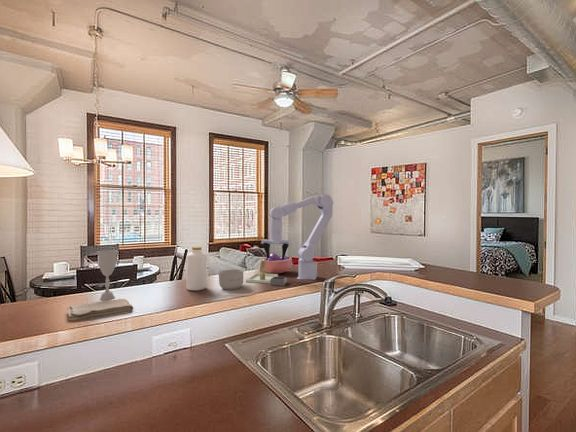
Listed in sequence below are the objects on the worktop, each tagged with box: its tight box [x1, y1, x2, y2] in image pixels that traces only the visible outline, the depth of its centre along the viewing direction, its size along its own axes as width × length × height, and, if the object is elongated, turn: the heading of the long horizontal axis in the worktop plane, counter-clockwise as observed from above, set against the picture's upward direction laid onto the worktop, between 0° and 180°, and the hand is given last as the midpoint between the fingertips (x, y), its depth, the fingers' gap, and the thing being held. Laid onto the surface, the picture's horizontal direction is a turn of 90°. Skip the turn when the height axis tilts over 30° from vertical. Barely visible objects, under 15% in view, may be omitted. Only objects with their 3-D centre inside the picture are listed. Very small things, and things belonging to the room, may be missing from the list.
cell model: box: [259, 252, 293, 275], centre depth 170 cm, size 17×20×11 cm
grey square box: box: [269, 276, 288, 287], centre depth 142 cm, size 6×6×3 cm
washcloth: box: [66, 298, 134, 322], centre depth 103 cm, size 12×18×3 cm, turn 128°
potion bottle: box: [186, 246, 208, 292], centre depth 134 cm, size 8×8×18 cm
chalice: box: [96, 249, 119, 301], centre depth 119 cm, size 7×7×18 cm
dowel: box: [259, 260, 266, 280], centre depth 152 cm, size 3×3×9 cm
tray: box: [244, 272, 279, 284], centre depth 152 cm, size 12×16×2 cm
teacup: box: [217, 268, 244, 291], centre depth 136 cm, size 14×11×8 cm
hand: (275, 258), depth 154 cm, fingers open, 7 cm apart
